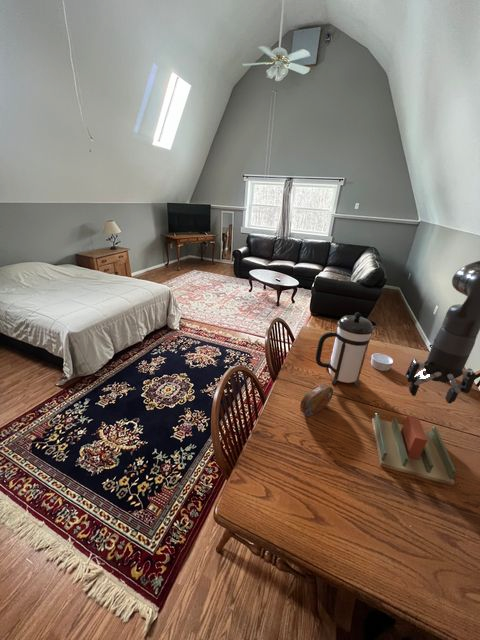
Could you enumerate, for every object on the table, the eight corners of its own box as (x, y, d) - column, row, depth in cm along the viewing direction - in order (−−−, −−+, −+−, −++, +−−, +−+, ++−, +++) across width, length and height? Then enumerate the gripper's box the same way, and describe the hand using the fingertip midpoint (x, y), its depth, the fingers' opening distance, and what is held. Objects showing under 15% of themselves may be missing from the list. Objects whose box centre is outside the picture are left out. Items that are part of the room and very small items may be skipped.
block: (410, 436, 85) (418, 417, 81) (418, 460, 77) (427, 440, 73) (399, 433, 85) (407, 414, 82) (406, 457, 77) (415, 437, 74)
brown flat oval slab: (303, 420, 90) (307, 400, 87) (296, 414, 93) (300, 395, 89) (331, 403, 99) (335, 384, 95) (324, 398, 101) (328, 379, 97)
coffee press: (335, 362, 123) (349, 301, 110) (368, 380, 112) (387, 315, 99) (311, 375, 113) (323, 310, 100) (344, 396, 102) (363, 326, 89)
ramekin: (366, 360, 126) (368, 352, 124) (385, 361, 126) (387, 353, 124) (374, 371, 118) (376, 363, 116) (394, 372, 118) (397, 364, 116)
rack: (431, 434, 87) (435, 424, 85) (453, 486, 71) (459, 475, 70) (371, 420, 92) (374, 410, 90) (380, 465, 76) (384, 455, 74)
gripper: (423, 348, 65) (404, 400, 72) (494, 360, 61) (466, 413, 68) (415, 335, 71) (398, 383, 78) (478, 344, 68) (454, 394, 75)
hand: (430, 397), depth 73 cm, fingers open, 8 cm apart
